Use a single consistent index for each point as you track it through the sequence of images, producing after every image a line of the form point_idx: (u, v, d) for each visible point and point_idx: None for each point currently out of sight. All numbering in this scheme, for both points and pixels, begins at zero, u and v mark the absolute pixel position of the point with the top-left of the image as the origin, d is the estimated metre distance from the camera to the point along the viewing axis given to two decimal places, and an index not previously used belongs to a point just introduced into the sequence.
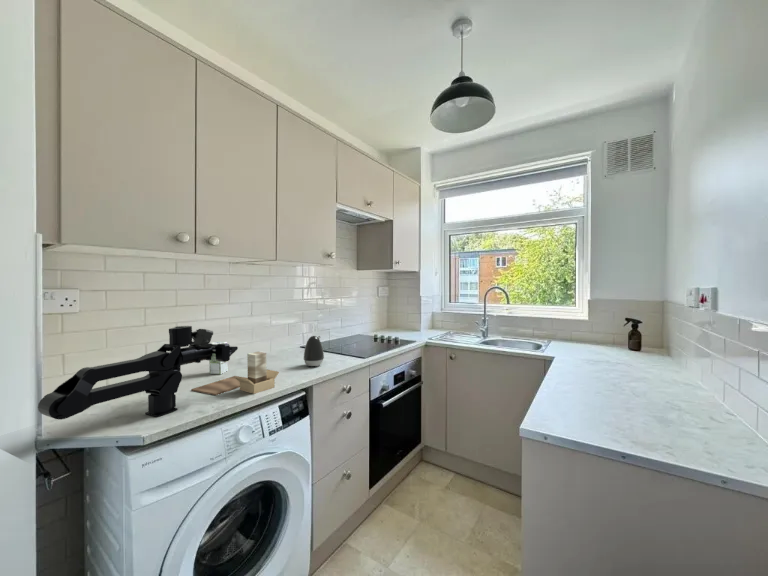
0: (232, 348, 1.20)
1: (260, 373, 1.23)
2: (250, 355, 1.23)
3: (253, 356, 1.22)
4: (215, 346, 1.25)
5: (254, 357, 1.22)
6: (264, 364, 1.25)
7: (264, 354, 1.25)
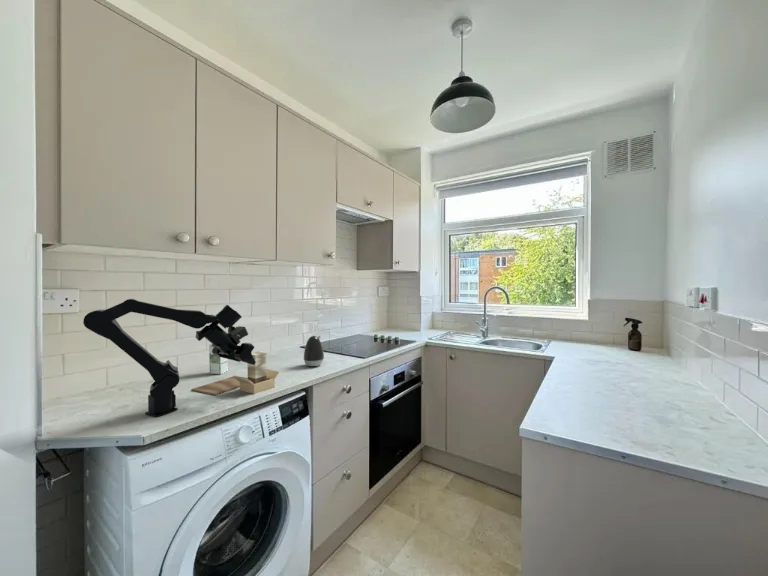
0: (251, 358, 1.17)
1: (260, 373, 1.23)
2: None
3: (253, 356, 1.22)
4: None
5: (254, 357, 1.22)
6: (264, 364, 1.25)
7: (264, 354, 1.25)
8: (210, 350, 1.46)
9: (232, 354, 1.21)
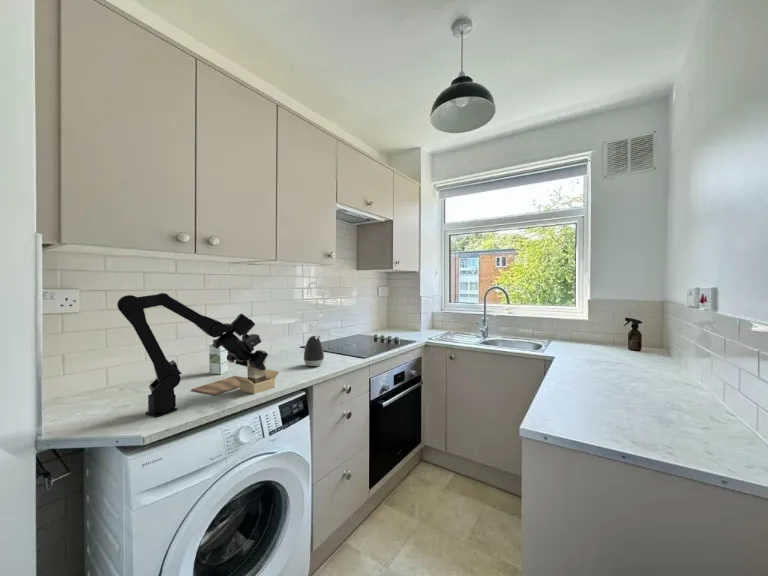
0: (262, 364, 1.22)
1: (260, 373, 1.23)
2: None
3: None
4: None
5: None
6: (264, 364, 1.25)
7: None
8: (210, 350, 1.46)
9: None
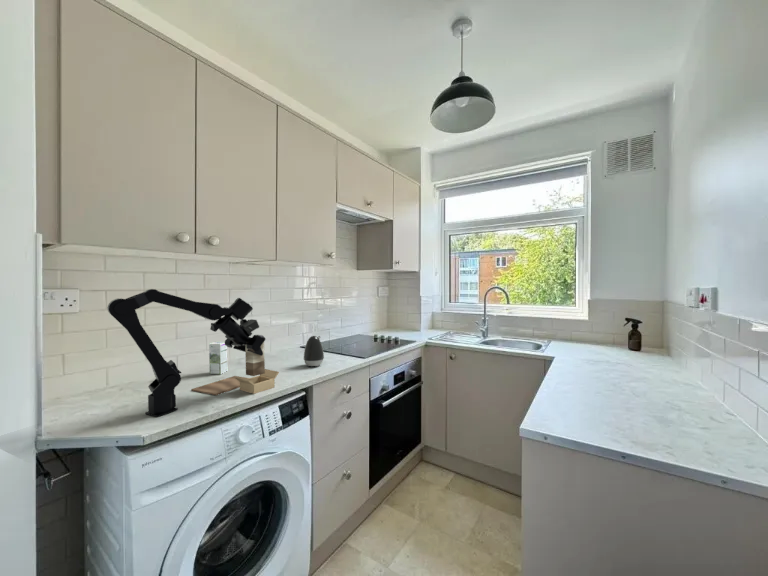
0: (259, 349, 1.23)
1: (258, 358, 1.24)
2: None
3: None
4: None
5: None
6: (262, 349, 1.25)
7: None
8: (210, 350, 1.46)
9: None
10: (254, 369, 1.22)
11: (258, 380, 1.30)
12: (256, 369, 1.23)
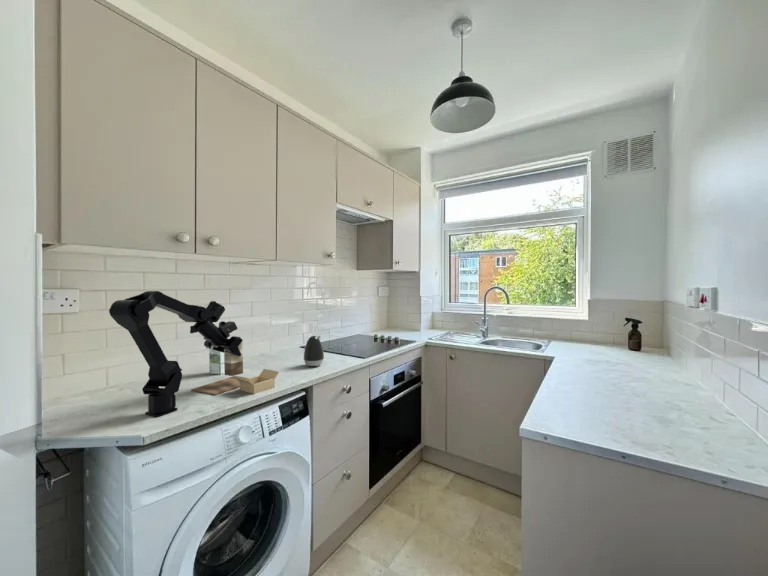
0: (237, 350, 1.28)
1: (236, 359, 1.29)
2: None
3: None
4: None
5: None
6: (240, 350, 1.30)
7: None
8: (210, 350, 1.46)
9: None
10: (233, 369, 1.27)
11: (258, 380, 1.30)
12: (234, 370, 1.28)
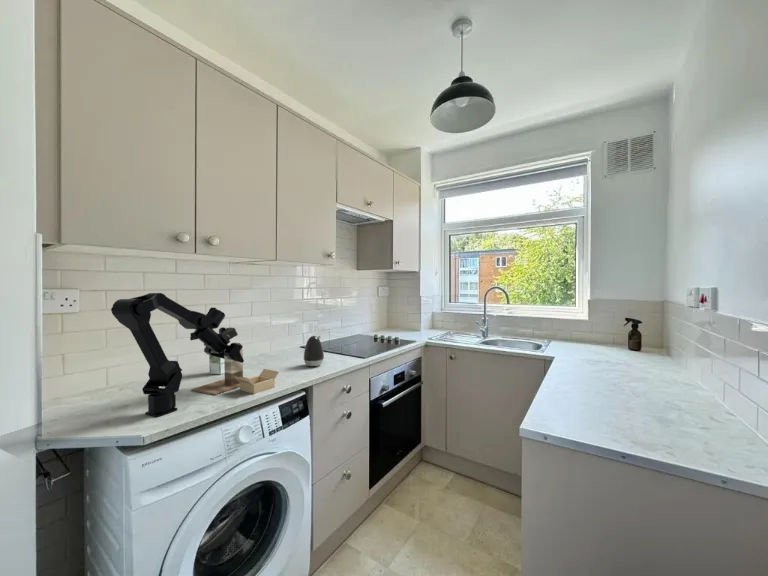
0: (240, 356, 1.27)
1: (236, 368, 1.29)
2: None
3: None
4: None
5: None
6: None
7: (240, 350, 1.30)
8: None
9: (223, 353, 1.31)
10: (233, 379, 1.27)
11: (258, 380, 1.30)
12: (234, 379, 1.28)
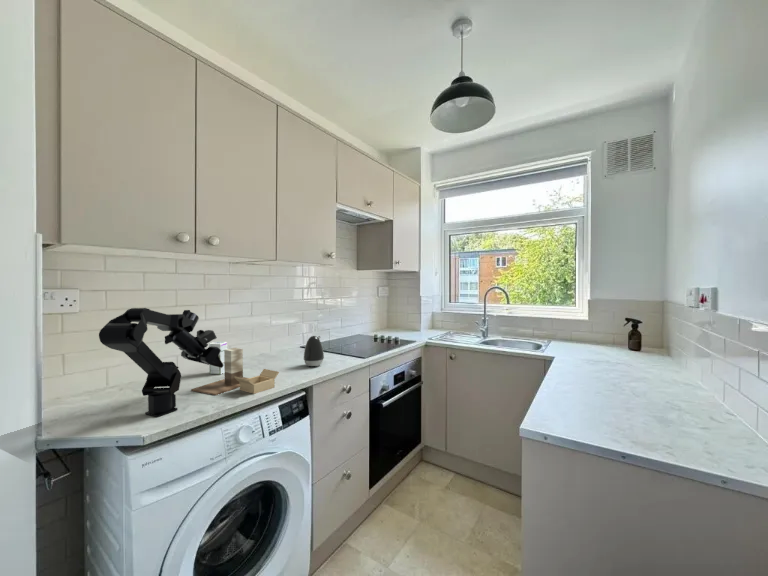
0: (219, 361, 1.19)
1: (236, 368, 1.29)
2: (226, 351, 1.29)
3: (229, 352, 1.27)
4: None
5: (230, 353, 1.27)
6: (240, 360, 1.30)
7: (240, 350, 1.30)
8: None
9: (201, 357, 1.24)
10: (233, 379, 1.27)
11: (258, 380, 1.30)
12: (234, 379, 1.28)
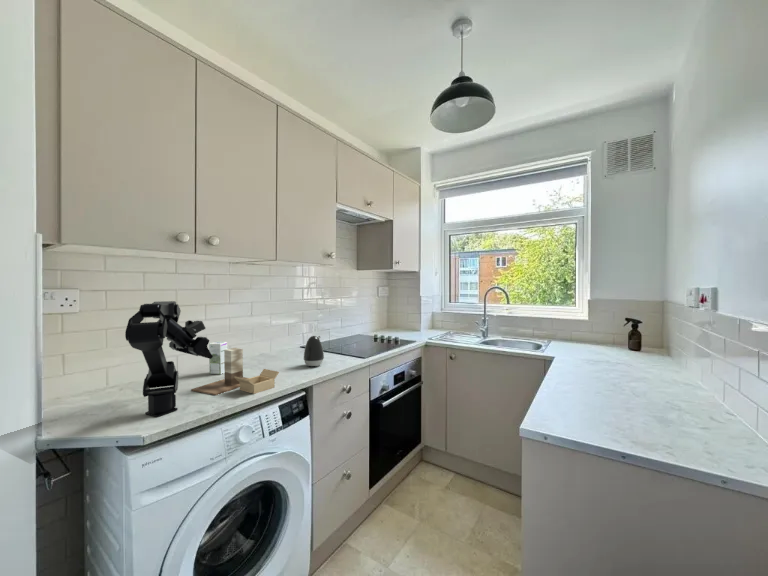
0: (208, 352, 1.17)
1: (236, 368, 1.29)
2: (226, 351, 1.29)
3: (229, 352, 1.27)
4: None
5: (230, 353, 1.27)
6: (240, 360, 1.30)
7: (240, 350, 1.30)
8: (210, 350, 1.46)
9: None
10: (233, 379, 1.27)
11: (258, 380, 1.30)
12: (234, 379, 1.28)
